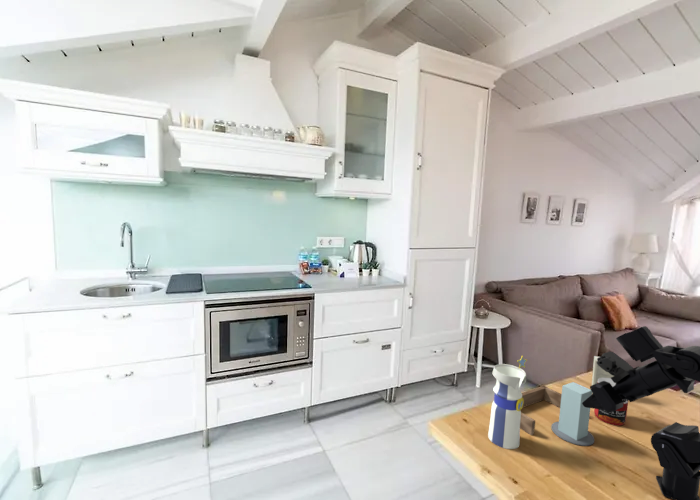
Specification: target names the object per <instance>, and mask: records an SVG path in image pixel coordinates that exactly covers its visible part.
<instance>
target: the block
mask: <svg viewBox="0 0 700 500" xmlns="http://www.w3.org/2000/svg"><path fill="white" fill-rule="evenodd" d="M561 387H562V388H561V394H562V395H561V405H560V408H559V417H558V422H559V425H558V430H559V431H561V432H563V433H565V434H566V435H568V436H570V437H572V438H573V439H575V440H579V439H581V438H583V437H585V436H587V434H588V431H589V425H590V415H591V408H586V407H584V406H583V404H582V403H583V402H584V401H585V400H586V399H587V398H588V397H590V396H591V395H592V391H591V389H590V388H588V387H586V386H584V385H581V384H578V383H577V382H574V381H572V382H569V383H566V384H563V385H562V386H561Z"/></svg>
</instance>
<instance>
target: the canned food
mask: <svg viewBox="0 0 700 500" xmlns="http://www.w3.org/2000/svg"><path fill="white" fill-rule="evenodd" d="M602 381H606V382H608V383H610V384H611V385H612V387H613V386H615V383H614V382H613V380H612V379H611V378H599V379H598V381H597V383H599V382H602ZM622 400H623V401H624V403H623V407H622V408H620V409H617V410H615V411H612V412H609V413H608V412H607V411H605V410H600V409H593V410H594V411H593V413H594V416H595V417H596V418H597V419H598V420H600V421H601V422H603V423H605V424H607V425H608V424H609V425H610V426H611V425H612V426H615V427H616V426H617V427H618V426H619V427H620V426H623V425H625V423H626V421H627V414H628V407H629V400H628V399H622Z"/></svg>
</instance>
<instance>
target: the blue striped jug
mask: <svg viewBox="0 0 700 500" xmlns="http://www.w3.org/2000/svg"><path fill="white" fill-rule="evenodd" d="M527 361H528V359H526V358H524V356H523V355H521V358H520V359H518V360H516V362H517V363H518V364H519V366H515V365H512V364H509V363H506V364H505V363H498V364H496V365H494V366H493V370H492V375H493V377H494V378H495V379H496V383H495V385H494V386H493V389H492V390H493V392H494V397H493V401H492V403H491V407H490V409H491V410H490V418H489V419H490V420H489V427H488V433H487V437H488V439H489V441H490V442H491V443H492V444H494V445H495V446H497V447H499V448H502V449H506V450H516V449H518V448H519V446H520V440H521V439H520V436H521V433H520V432H521V429H520V420H521V412H522V411H521V410H522V409H523V408H524V407H523V403H524V400H523V398H522V393H523V392H522V391H521V386H522V383H523V385H525V384H526V382H527V373H526V371H525V370H524V369H522V368H526V362H527ZM522 407H523V408H522Z"/></svg>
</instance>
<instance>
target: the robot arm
mask: <svg viewBox="0 0 700 500" xmlns="http://www.w3.org/2000/svg"><path fill="white" fill-rule="evenodd" d="M615 339H616V341H617V342H618V343H619V344H620V346H621V347H622V348H623V350H625V351H626V353H627V354H628V355H629V357H630V358H631V359H632V361H635V362H638V361H639V362H640V363H644V362H647V361H648V360H649V361H650V360H651V359H655V360H653V361H651V362H649V363H647V364H645V365H641V366H636V367H633V366H632V365H630V363H628V362H627V361H626V360H625V359H624V358H622V357H621V356H619V355H618V354H617V353H615V352H614V351H607V352H604V353H602V355H600V356H598V357H599V358H597V360H598V361H597V364H598V366H600V367H601V368H602V369H603V370H605V371H606V372H609V373H610V374H611V375H613V376H614V377H611V379H612V380H613V382H614V383H615V386H613V387H612V385H611V384H610V383H608V382H606V381H602V382H599V383H596V384H594V385H592V384H591V385H590V386H589V389H590V390H591V391H592V395H591V396H590V397H588V398H587V399H586V400H585V401H584V402H583V403H582V404H583V406H584V407H586V408H590V409H593V410H594V409H600V410H605V411H607V412H608V413H609V412H612V411H615V410H617V409H620V408H622V407H623V403H624V401H623V400H622V399H628V402H629V403H633V402H635V401H638V400H639V399H643V398H645V397H650V396H652V395H654V394H657V393H659V392H662V391H664V390H667V389H670V388H673V387H676V386H677V387H678V388H679V389H680V390H681V391H682V392H683V393H684V394H688V393H690V392H692V391H694V389H695V385H694V384H695V382H696V381H697V382H700V345H692V346H687V347H680V346H675V345H674V346H673V345H665V346H663V345H662V343H661V342H659V340H658V339H657V338H656V337H655V336H654V335H653V333H652V331H651V330H650V329H649V327H647V326H645V325H644V326H641V327H638V328H636V329H634V330H632V331H629V332H626V333H625V332H624V333H622V334H621V335H619V336H618V337H616V338H615ZM650 445H651V446H652V449H653V450H654V451H655V452H656V455H657V459H658V463H659V465H660V467H661V468H663V470H662V476H660V475H656V476H655V479H656V481H657V484H658V487H659V489H660V491H661V494H662V496H664V497H665V498H669V499H671V500H700V496H699V491H700V430H699V426H698V425H693V424H692V425H691V424H689V425H686V424H682V423H679V422H677V421H676V422H674V423H672V424H669V425H666V426H665V427H663V428H661V429H659V430H658V431H656V432H655V433H653V434H652V435H651V437H650Z"/></svg>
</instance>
